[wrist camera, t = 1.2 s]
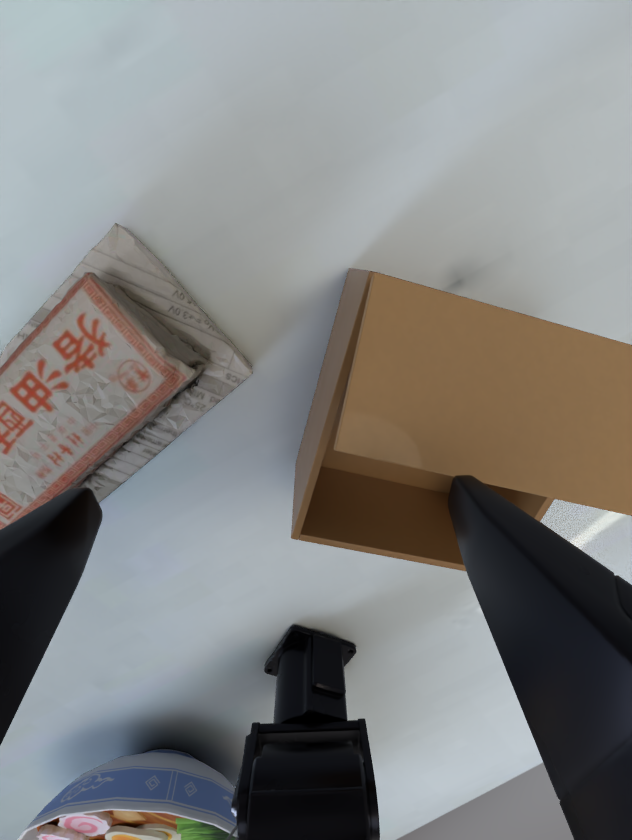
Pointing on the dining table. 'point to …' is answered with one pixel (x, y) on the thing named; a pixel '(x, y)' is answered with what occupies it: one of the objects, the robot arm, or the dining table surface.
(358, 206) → the dining table surface
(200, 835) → the ramen bowl
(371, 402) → the flap
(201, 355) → the packaged product
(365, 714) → the dining table surface
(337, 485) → the carton
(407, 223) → the dining table surface
